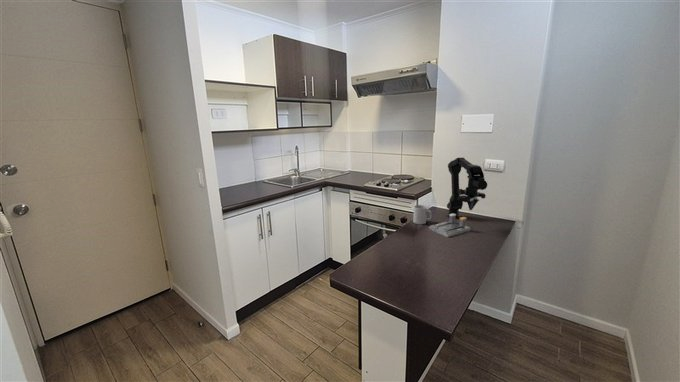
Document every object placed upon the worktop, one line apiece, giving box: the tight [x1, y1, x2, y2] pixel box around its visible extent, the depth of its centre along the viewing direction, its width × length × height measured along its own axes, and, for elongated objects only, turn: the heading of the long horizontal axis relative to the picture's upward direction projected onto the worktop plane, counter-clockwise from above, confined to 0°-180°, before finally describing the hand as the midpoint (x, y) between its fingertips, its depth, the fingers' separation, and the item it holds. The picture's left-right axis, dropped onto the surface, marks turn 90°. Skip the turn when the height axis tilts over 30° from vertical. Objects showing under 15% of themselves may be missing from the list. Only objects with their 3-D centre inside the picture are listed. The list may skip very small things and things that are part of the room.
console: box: [428, 220, 471, 238], centre depth 176 cm, size 20×15×3 cm
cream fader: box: [448, 213, 456, 223], centre depth 181 cm, size 3×2×5 cm
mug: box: [412, 204, 433, 225], centre depth 188 cm, size 12×8×11 cm
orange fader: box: [459, 216, 467, 227], centre depth 174 cm, size 3×2×5 cm
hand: (470, 210), depth 176 cm, fingers closed
